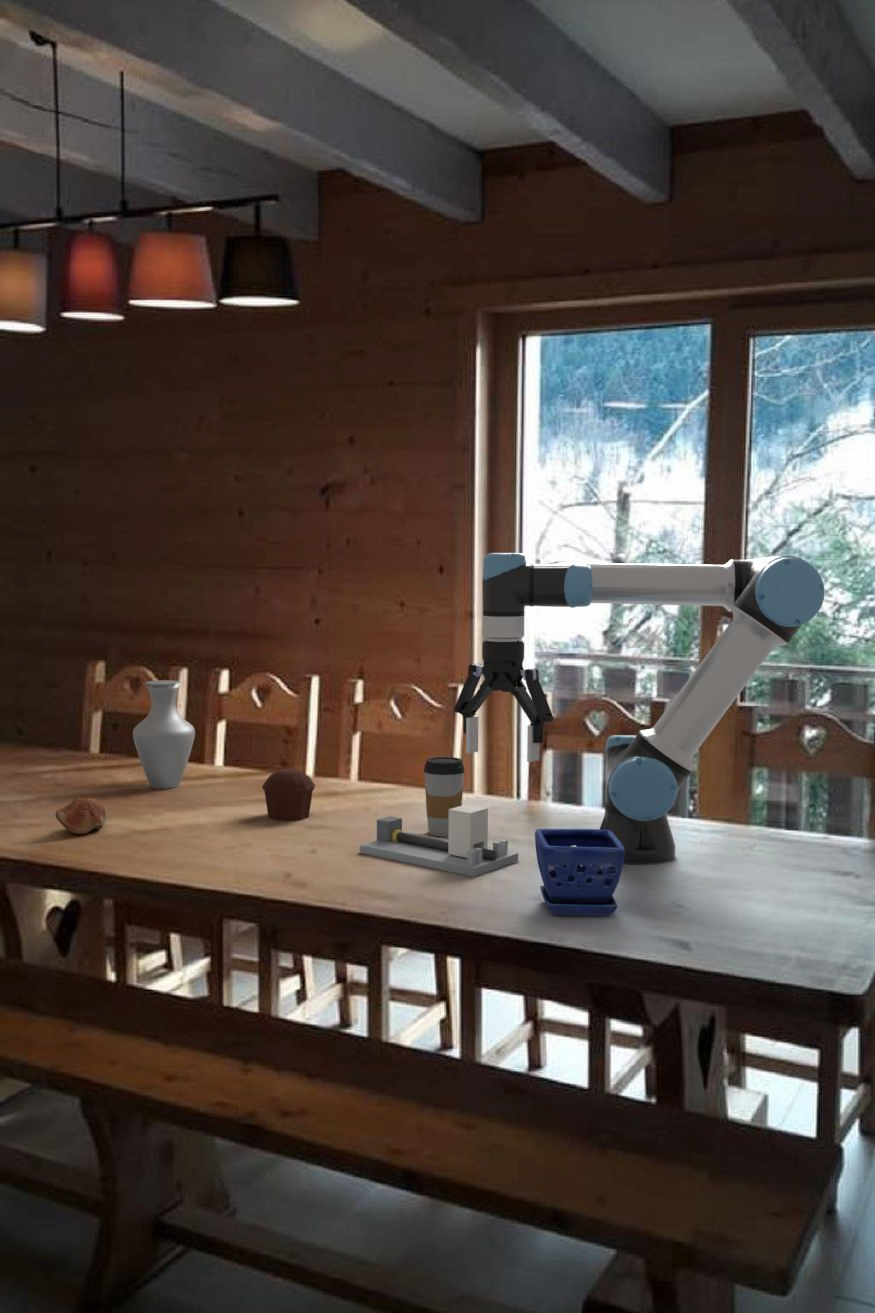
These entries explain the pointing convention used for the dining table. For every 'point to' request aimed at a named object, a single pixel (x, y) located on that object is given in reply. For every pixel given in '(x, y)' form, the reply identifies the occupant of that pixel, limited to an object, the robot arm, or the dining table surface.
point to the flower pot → (579, 870)
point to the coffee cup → (442, 791)
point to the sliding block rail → (434, 850)
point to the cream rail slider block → (467, 829)
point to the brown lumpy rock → (82, 815)
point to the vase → (164, 737)
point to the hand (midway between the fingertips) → (502, 756)
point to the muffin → (288, 794)
